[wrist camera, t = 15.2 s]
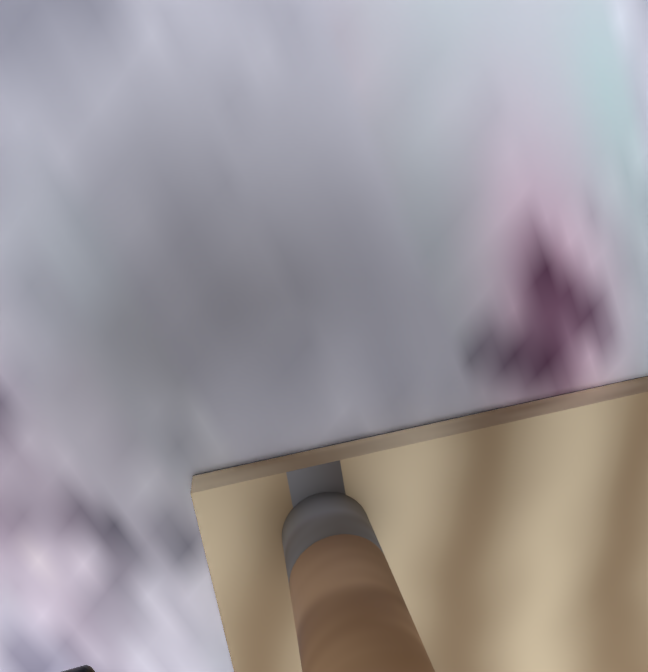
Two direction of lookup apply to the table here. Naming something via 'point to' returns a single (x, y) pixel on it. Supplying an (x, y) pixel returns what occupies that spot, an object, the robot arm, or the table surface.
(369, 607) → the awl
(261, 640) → the board
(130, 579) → the table surface
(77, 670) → the robot arm
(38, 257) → the table surface
